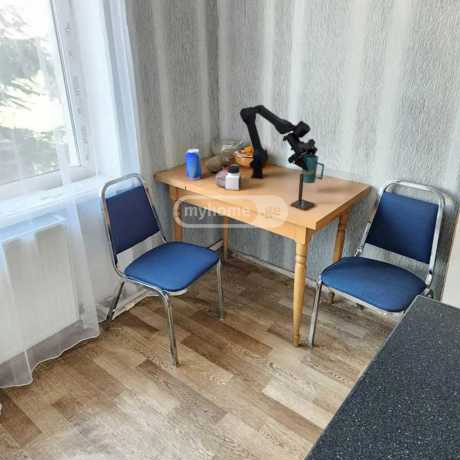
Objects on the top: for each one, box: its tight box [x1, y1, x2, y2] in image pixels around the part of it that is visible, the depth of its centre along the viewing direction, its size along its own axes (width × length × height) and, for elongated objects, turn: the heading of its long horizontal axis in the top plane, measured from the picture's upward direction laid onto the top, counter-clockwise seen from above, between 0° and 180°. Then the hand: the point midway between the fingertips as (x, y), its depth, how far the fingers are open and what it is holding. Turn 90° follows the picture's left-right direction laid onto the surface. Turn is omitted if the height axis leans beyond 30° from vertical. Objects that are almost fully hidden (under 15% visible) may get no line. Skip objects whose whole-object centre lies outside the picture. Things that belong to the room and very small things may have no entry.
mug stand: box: [290, 170, 316, 212], centre depth 186 cm, size 8×16×14 cm, turn 135°
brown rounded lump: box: [204, 154, 230, 173], centre depth 236 cm, size 13×8×20 cm
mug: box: [301, 154, 325, 184], centre depth 197 cm, size 12×7×13 cm, turn 44°
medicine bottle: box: [225, 164, 242, 191], centre depth 206 cm, size 7×7×12 cm
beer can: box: [185, 148, 203, 181], centre depth 219 cm, size 8×8×16 cm
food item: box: [215, 166, 228, 189], centre depth 211 cm, size 14×8×10 cm, turn 156°
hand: (311, 169), depth 198 cm, fingers closed on mug, 7 cm apart
